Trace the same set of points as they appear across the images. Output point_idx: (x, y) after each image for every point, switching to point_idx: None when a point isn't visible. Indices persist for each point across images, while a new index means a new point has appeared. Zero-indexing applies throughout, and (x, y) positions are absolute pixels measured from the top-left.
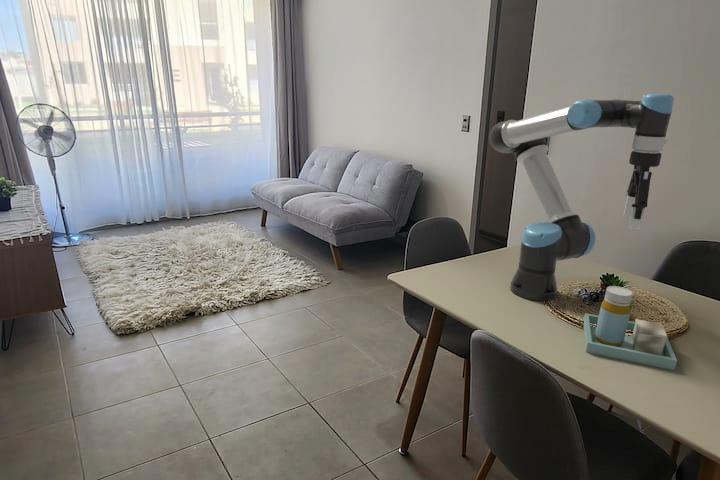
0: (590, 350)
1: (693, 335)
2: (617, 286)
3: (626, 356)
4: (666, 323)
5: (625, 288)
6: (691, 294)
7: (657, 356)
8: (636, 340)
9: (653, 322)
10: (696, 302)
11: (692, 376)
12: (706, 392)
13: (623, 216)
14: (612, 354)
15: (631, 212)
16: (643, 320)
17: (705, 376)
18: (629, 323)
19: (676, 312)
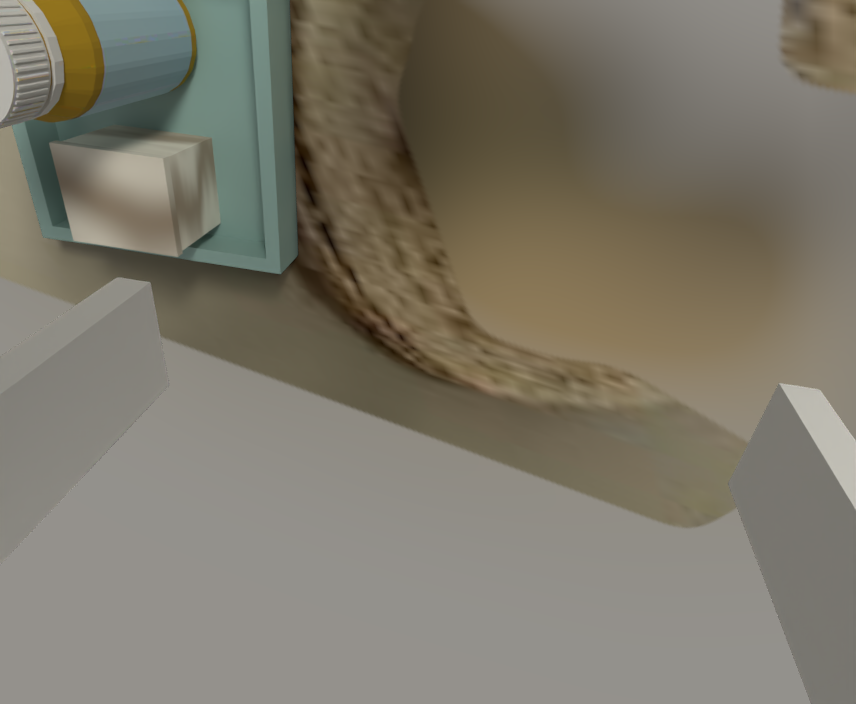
0: None
1: (371, 369)
2: (6, 56)
3: None
4: (438, 317)
5: (6, 104)
6: None
7: (30, 180)
8: (103, 134)
9: (170, 226)
10: (670, 481)
11: (90, 268)
12: (26, 274)
13: (785, 390)
14: None
15: (770, 520)
16: (165, 189)
17: None
18: (260, 148)
19: (554, 384)
